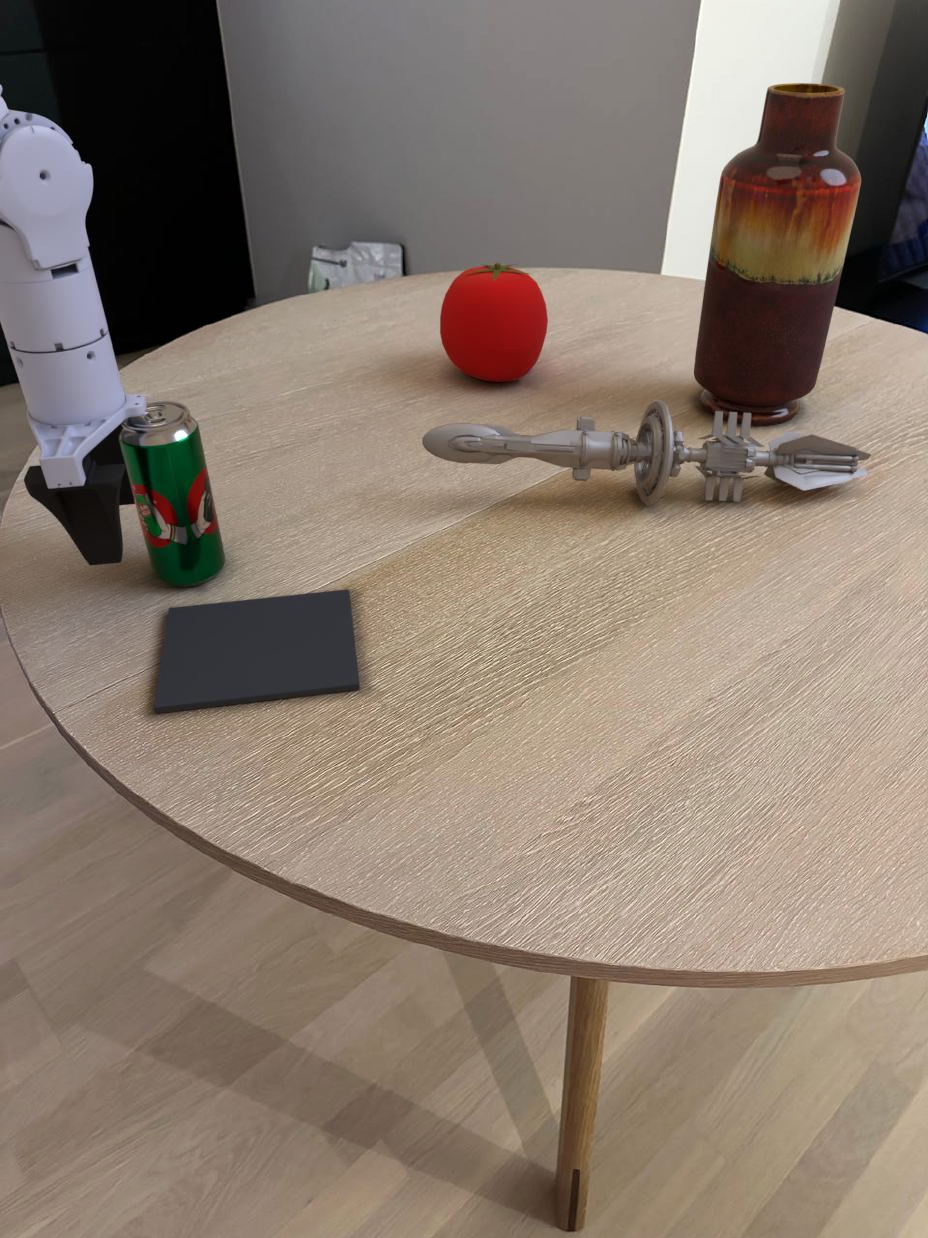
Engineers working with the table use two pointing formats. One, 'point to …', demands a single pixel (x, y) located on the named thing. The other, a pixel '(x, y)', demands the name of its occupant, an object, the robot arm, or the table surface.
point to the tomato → (493, 322)
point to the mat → (257, 651)
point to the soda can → (172, 494)
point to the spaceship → (658, 453)
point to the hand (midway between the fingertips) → (113, 530)
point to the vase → (776, 258)
